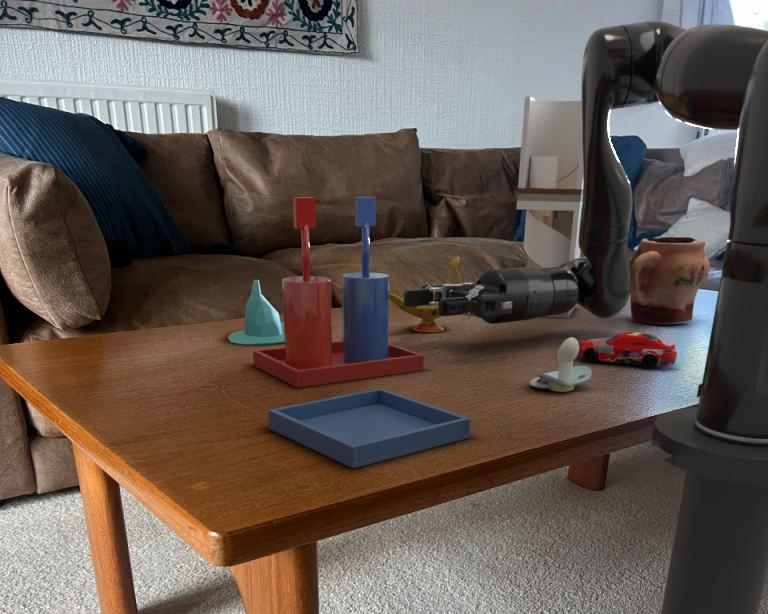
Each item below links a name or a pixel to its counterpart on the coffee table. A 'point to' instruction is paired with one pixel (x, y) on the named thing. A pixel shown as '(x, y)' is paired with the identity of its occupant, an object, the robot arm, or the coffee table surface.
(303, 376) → the red tray
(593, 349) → the race car
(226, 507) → the coffee table surface
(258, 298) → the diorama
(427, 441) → the blue tray
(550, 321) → the coffee table surface
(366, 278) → the blue pot
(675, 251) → the decorative planter
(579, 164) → the display case
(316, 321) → the red spoon pot
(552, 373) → the pacifier
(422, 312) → the magic lamp
